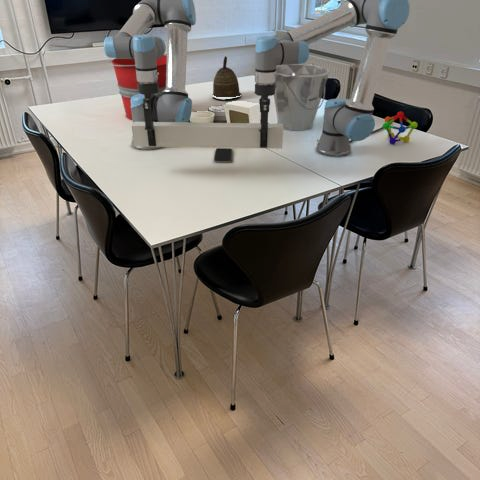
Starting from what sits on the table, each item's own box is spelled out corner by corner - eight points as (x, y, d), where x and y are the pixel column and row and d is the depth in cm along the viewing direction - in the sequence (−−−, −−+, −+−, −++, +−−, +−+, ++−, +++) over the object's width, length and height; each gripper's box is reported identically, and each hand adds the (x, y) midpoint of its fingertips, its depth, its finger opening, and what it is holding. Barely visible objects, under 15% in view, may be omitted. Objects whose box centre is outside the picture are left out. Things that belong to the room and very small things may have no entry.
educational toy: (377, 146, 209) (379, 114, 202) (384, 138, 219) (386, 107, 211) (411, 149, 202) (415, 116, 195) (417, 141, 212) (420, 109, 204)
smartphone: (213, 160, 188) (216, 148, 201) (213, 162, 189) (216, 149, 201) (230, 161, 188) (232, 148, 201) (230, 162, 189) (232, 149, 201)
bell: (227, 105, 294) (202, 96, 282) (238, 66, 289) (213, 55, 277) (243, 108, 280) (217, 98, 268) (255, 66, 275) (229, 55, 263)
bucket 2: (296, 138, 215) (301, 78, 201) (255, 124, 234) (256, 68, 219) (335, 125, 232) (342, 70, 217) (294, 113, 251) (297, 61, 236)
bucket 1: (125, 105, 263) (118, 51, 247) (184, 106, 262) (180, 52, 246) (109, 123, 234) (99, 63, 218) (175, 124, 233) (170, 64, 217)
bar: (133, 146, 172) (131, 125, 167) (136, 142, 176) (134, 121, 172) (282, 148, 171) (283, 127, 167) (281, 144, 176) (282, 123, 171)
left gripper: (153, 87, 153) (159, 151, 166) (162, 76, 169) (167, 135, 181) (131, 87, 154) (139, 151, 166) (142, 76, 169) (148, 135, 181)
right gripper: (276, 89, 153) (273, 153, 165) (274, 77, 169) (272, 136, 181) (255, 89, 153) (253, 152, 166) (254, 77, 169) (253, 136, 181)
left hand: (153, 143), depth 174 cm, fingers closed on bar, 5 cm apart
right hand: (263, 144), depth 173 cm, fingers closed on bar, 5 cm apart
